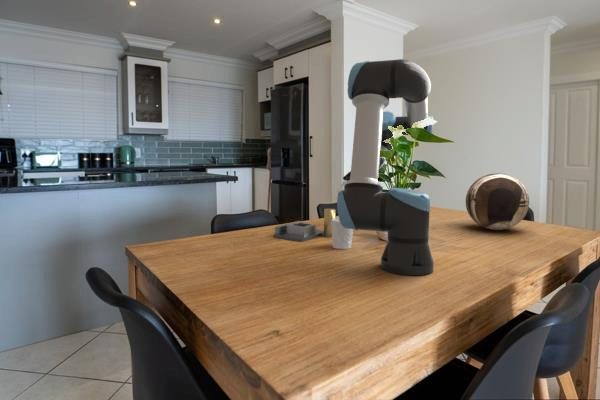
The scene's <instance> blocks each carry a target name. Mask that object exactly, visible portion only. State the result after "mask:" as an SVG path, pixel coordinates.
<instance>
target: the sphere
mask: <svg viewBox="0 0 600 400" xmlns="http://www.w3.org/2000/svg"><path fill="white" fill-rule="evenodd" d="M529 196H530V195H529V192H528V190H527V188H526V187H525V186H524V185H523V183H522V182H521V181H519V180H518V179H517V178H515V177H513V176H511V175H509V174H507V173H506V174H505V173H497V172H496V173H488V174H486V175H484V176H481V177H479V178H478V179H476V180H475V181H473V183H472V184H471V185H470V186H469V189H468V190H467V193H466V196H465V207H466V211H467V213H468V215H469V217H470V218H471V219H472V221H473V222H474V223H476V224H477V225H478V226H479V227H482V228H484V229H486V230H487V229H488V230H491V231H503V230H508V229H511V228H513V227H515V226H517V224H520V223H521V221H523V220H524V218H525V217H526V215H527V213H528V210H529V206H530V197H529Z"/></svg>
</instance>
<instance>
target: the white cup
mask: <svg viewBox="0 0 600 400" xmlns="http://www.w3.org/2000/svg"><path fill="white" fill-rule="evenodd" d="M331 225H332V237H331V240H332V248H333V249H335V250H348V249H349V250H350V249H351V248H352V245H353V243H352V242H353V241H352V240H353V235H354V234H353V233H354V229H347V228H344V227H343V226H342V225H341V223H340V220H339V217H336V218H334V219H331Z"/></svg>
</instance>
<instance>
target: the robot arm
mask: <svg viewBox="0 0 600 400" xmlns="http://www.w3.org/2000/svg"><path fill="white" fill-rule="evenodd" d="M431 91H432V82H431V80H430V77H429V75H428V73H427V72H426V71H425V70H424V69H423V68H422V67H421V66H420V65H418V64H417V63H415V62H414V61H412V60H408V59H404V58H403V59H402V58H399V59H389V60H375V61H369V60H366V61H362V62H356V63H355V64H353V65H352V67H351V68H350V71H349V75H348V80H347V96H348V99H349V100H351V103H352V105H353V106H354V107H355V120H354V128H353V129H354V130H353V132H354V133H353V141H352V142H353V143H352V153H351V166H350V171H348V173H346V174H345V175H344V176H343V177H342V180H344V181H343V182H342V183H341V185H340V187H339V189H338V190H337V191H336V192H337V198H336V199H337V200H336V206H337V215H338V216H337V217H338V218H339V220H340V223H341V225H342V226H343V227H344V228H347V229H353V230H355V231H359V230H360V231H372V232H385V233H387V240H386V245H385V246H384V249H383V252H382V255H381V257H380V267H381V269H383V270H384V271H386V272H388V273H393V274H397V275H405V276H423V275H428V274H431V273H433V272H434V263H435V262H434V259H433V256H432V252H431V249H430V245H429V237H430V235H429V234H430V212H431V199H430V198H431V197H430V196H429V195H428V194H427V193H425V192H422V191H420V190H419V191H418V190H414V189H411V188H410V189H409V188H402V187H390V188H389V189H388V192H383V191H384V190H383V188H384V186H383V185H382V184H381V183H380V181H378V178H379V169H380V168H381V167H382V166H383V165H384V163H385V161H386V160H385V159H384V158H383V159H382V158H380V151H381V149H382V150H391V149H392V146H391V144H389V143H385V142H383V141H384V140H386V139H389V138H391V137H392V136H393V134H392V132H391V131H390V130H389V129H388V126H392V127H394V128H397V126H399V125H402V126H403V127H404V129H407V128H411V127H412V125H413V123H415V122H418V121H421V120H424V119H425V118H427V117H430V118H431V119H433V120H434V117H433V116H432V115H429V108H428V106H429V105H428V104H429V101H428V97H429V95H430V93H431ZM390 99H403V100H404V102H405V110H406V116H396V115H395V113H394V112H392V111H388V110H387V111H384V109H386V108H387V107H388V106H389V104H390ZM424 129H425V130H427V131H429V132H430V133H432V134H433V132H434V124H433V125H429V126H426V127H424ZM402 134H403V135H402V136H409V135H408V134H406V133H405V132H402ZM383 162H384V163H383Z"/></svg>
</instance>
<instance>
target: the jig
mask: <svg viewBox="0 0 600 400" xmlns="http://www.w3.org/2000/svg"><path fill="white" fill-rule="evenodd" d="M274 228H275V229H274V232H275V233H273V238H277V239H284V240H289V241H293V242H299V243H300V242H302V243H304V242H306V241H309V240H314V239H316V238H319V237H323V236H324V230H321V229H317V224H316V223H315V224H314V223H308V222H303V221H302V220H295V221H293V222H289V223H285V224H284V223H282V224H280V225H276V226H275V227H274Z"/></svg>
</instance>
